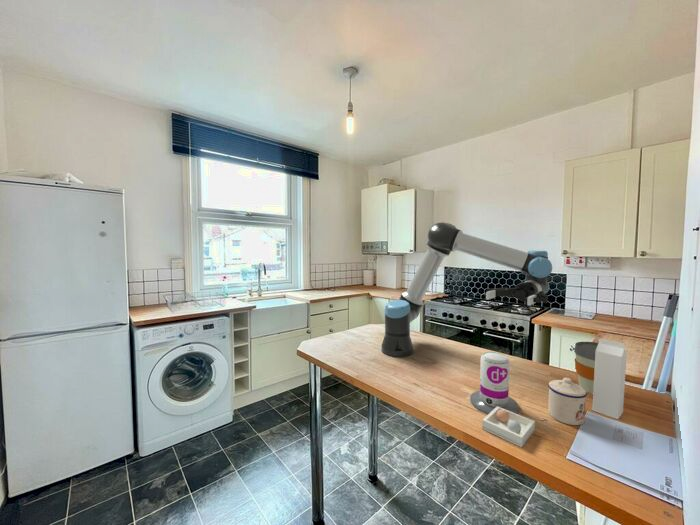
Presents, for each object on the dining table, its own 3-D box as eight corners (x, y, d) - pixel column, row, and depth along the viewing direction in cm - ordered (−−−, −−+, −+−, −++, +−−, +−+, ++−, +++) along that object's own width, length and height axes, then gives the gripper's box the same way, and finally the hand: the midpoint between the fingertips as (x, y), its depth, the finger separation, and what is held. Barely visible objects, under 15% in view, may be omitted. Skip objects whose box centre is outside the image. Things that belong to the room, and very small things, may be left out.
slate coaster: (462, 403, 94) (462, 400, 94) (481, 388, 104) (481, 386, 104) (508, 423, 84) (508, 420, 84) (525, 404, 93) (525, 402, 93)
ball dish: (482, 428, 82) (482, 419, 81) (497, 414, 88) (497, 406, 88) (521, 447, 74) (521, 437, 74) (534, 430, 81) (534, 421, 81)
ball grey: (505, 432, 79) (505, 421, 79) (510, 427, 81) (510, 416, 81) (518, 438, 76) (518, 426, 76) (522, 432, 78) (523, 421, 78)
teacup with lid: (583, 430, 80) (586, 389, 79) (544, 417, 86) (546, 379, 85) (587, 411, 89) (589, 374, 88) (551, 400, 95) (552, 366, 94)
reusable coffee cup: (572, 391, 101) (574, 349, 100) (572, 377, 111) (574, 338, 110) (622, 403, 93) (624, 357, 92) (617, 387, 103) (619, 345, 102)
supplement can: (510, 410, 89) (512, 362, 87) (481, 406, 91) (482, 359, 90) (505, 397, 96) (507, 352, 95) (478, 393, 99) (479, 350, 98)
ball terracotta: (494, 420, 84) (495, 410, 83) (499, 416, 86) (499, 405, 86) (506, 426, 81) (507, 415, 81) (511, 421, 83) (511, 410, 83)
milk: (618, 420, 85) (622, 346, 83) (591, 410, 90) (595, 340, 88) (623, 412, 88) (627, 341, 87) (597, 403, 93) (601, 336, 91)
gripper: (565, 305, 107) (548, 315, 93) (495, 296, 126) (471, 303, 111) (566, 284, 106) (549, 292, 92) (495, 278, 125) (472, 284, 111)
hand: (506, 298), depth 102 cm, fingers open, 13 cm apart
